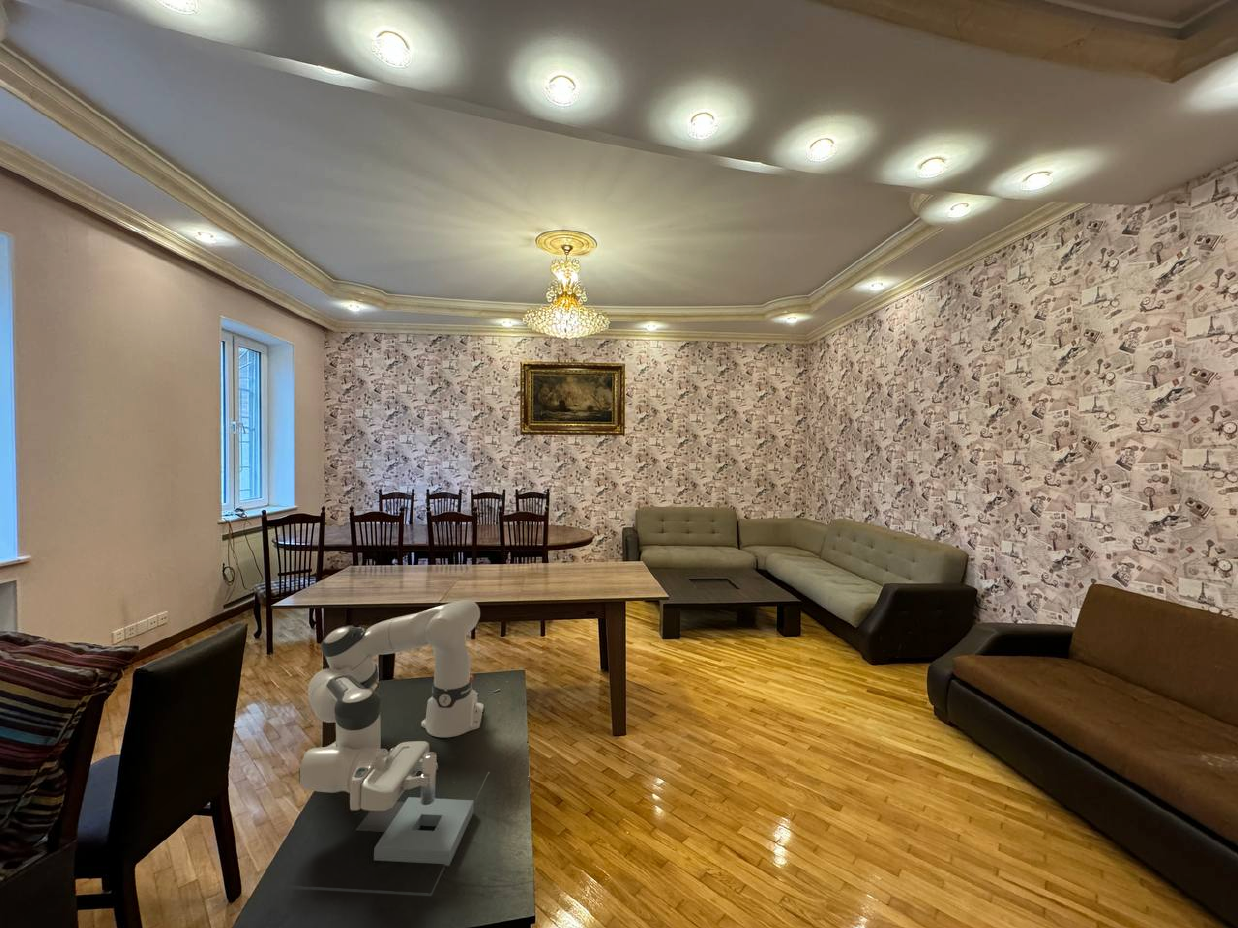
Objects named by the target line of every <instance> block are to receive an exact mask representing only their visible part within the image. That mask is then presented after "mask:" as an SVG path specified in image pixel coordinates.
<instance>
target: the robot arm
mask: <svg viewBox="0 0 1238 928" xmlns="http://www.w3.org/2000/svg"><path fill="white" fill-rule="evenodd" d="M480 617H481V609H480V607H479V605H478V603H476V602H475V601H474V600H472V599H460V600H458V601H457V600H456V601H454V602H453V601H452V602H449V603H446V604H441V605H439V606H435V607H432V608H429V609H426V610H423V611H419V612H416V613H411V614H406V615H402V616H397V617H392V618H390V619H389V618H388V619H386V620H383V621H380V622H378V623H375V624H373V625H371V626H369V627H368V628H367V629H366V628H364V627H362V626H357V627H356V626H352V625H351V626H341V627H338V628H336V629H334V630H332V631H331V632H329V633H328V634H327V635H326V636H324V639H323V640H322V642H321V651H322V654H323V657H325V659H326V662H327V665H328V666H329V667H326V668H324V669H321V670H320V671H318V672H317V673H315V674H314V675H313V677H312V678H311V679H310V681H309V684H308V691H307V692H308V693H307V695H308V700H309V704H310V708H311V710H312V711H313V713H314V714H315V716H316V718H318V719H319V720H320V721H322V722H323V723H327V724H328V723H329V724H330V723H331V724H332V723H335V741H334V742H332V743H331V744H329V745H326V746H324V747H323V746H322V747H315V748H309V749H308V750H307V751H306V752H305V753H304V755H303V756H302V759H301V761H300V764H299V769H298V781H299V785H300V786H301V788H303V789H306V790H309V791H313V792H318V793H320V792H321V793H330V794H331V793H333V794H334V793H339V792H346V793H348V794H349V807H350V809H349V810H350V811H359V810H360V809H362V810H363V811H368V812H370V811H385V810H388V809H390V808H392V807H393V806H394V804H395V803H396V802H398V800H399V798H400V797H401V796H402V794H403V793H404V792H405V790H412V789H414V788H418V787H421V786H427V784H428V783H429V781H430V775H429V774H422V773H421V775H418V776H416V775H417V773H418V772H419V771H420V772H422V757H423V755H424V754H426V753H429V752H430V742H428V741H425V740H424V741H423V740H416V741H403V742H401V743H398V744H397V745H396V746H394V747H391V748H390V750H389V751H388V749H386V748H381V743H382V742H381V737H382V736H381V735H382V734H381V711H382V709H381V708H382V697H381V696H380V695H379V693H377V692H376V691H374V690H373V689H371V688H372V687H373V686H374V685H375V684H376V683H377V680H378V679H379V676H380V675H379V669H378V666H377V664H376V663H375V660H374V657H376V656H378V655H391V654H397V653H402V652H405V651H406V652H407V651H411V650H415V649H416V650H417V649H421V648H424V647H425V648H426V647H427V646H429V645H430V646H431V648H432V652H433V658H434V674H433V675H434V677H433V678H434V679H433V683H432V686H431V697H430V698H429V699H428V700H427V705H426V714H425V718H424V719H423V720H422V721H420V722H421V724H420V726H421V727H422V728H423V729H425V730H426V733H428V734H429V735H430V736H433V737H437V738H452V737H459V736H460V735H463V734H465V733H468V732H470V731H473V730H476V729H479V728H480V726H481V722H482V716H483V713H482V712H484V704H483V703H481V702H478V692H476V690H474V689H473V683H472V682H473V680H474V674H471V663H472V662H471V661H472V659H471V655H470V653H469V652H468V648H467V641H466V640H467V635H468V634H469V633H470V632H471V631H473V630H474V628H475V627H476V626H477V624H478V622H479V620H480ZM438 766H439V765H438V762H436V771H437V770H438V769H439V767H438Z"/></svg>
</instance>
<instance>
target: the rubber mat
mask: <svg viewBox="0 0 1238 928" xmlns="http://www.w3.org/2000/svg"><path fill="white" fill-rule="evenodd" d="M405 802H406V801H396V803H395V804H394V806H393V807H392V808H390V809H388V810H385V811H368V813H367V814H366V815H365V817H364V818H363V819H362V821H361V822H360V823H359V825H358V826H357V827H356V829H355V831H359V832H360V831H361V832H377V833H378V832H379V833H385V831H386V830H387V828H388V827H389V825H390V824H391V822H392V821H393V819H394V818H395V816H396V815H397V814H398V812H399V811H400V809H401V808H402V806H403V805H404V803H405Z"/></svg>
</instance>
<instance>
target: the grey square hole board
mask: <svg viewBox="0 0 1238 928" xmlns="http://www.w3.org/2000/svg"><path fill="white" fill-rule="evenodd" d="M474 801H475V800H472V799H471V800H470V799H468V800H467V799H452V798H435V800H434V802H433V803H431V804H429V805H422V804H421V797H415V796H413V797H411V796H409V797H407V799H406V800H405V801H404V802H405V803H404V805H403V806H402V808H401V809H400V811H399V812H398V814H397V815H396V816H395V818H394V819H393V821H392V822H391V824H390V825H389V827H388V828H387V830H386V831H385V832H383V834H382V836H381V837H380V839H379V840H378V842H377V843H376V845H375V846H374V851H373V861H381V862H399V863H415V864H416V863H417V864H438V865H443V866H444V867H450V865H451V863H452V860H453V858H454V856H455V854H456V852H457V850H458V847H459V846H460V843H461V841H462V838H463V836H464V834H465V832H466V830H467V827H468V825H469V823H470V821H471V819H472V816H473V815H474V806H475V805H474ZM421 826H422V827H435V829H434V830H424V829H423V830H419V829H420V828H421Z"/></svg>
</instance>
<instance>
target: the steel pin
mask: <svg viewBox="0 0 1238 928" xmlns="http://www.w3.org/2000/svg"><path fill="white" fill-rule="evenodd" d="M436 763H437V753H436V752H433V751H429V753H426V754H424V755H423V757H422V771H421V775H422V774H429V775H430V781H429V783H428V784H427V786H420V798H421V804H422V805H429V804H431V803H433V802H434V800H435V799H436V777H437V770H436Z"/></svg>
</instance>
